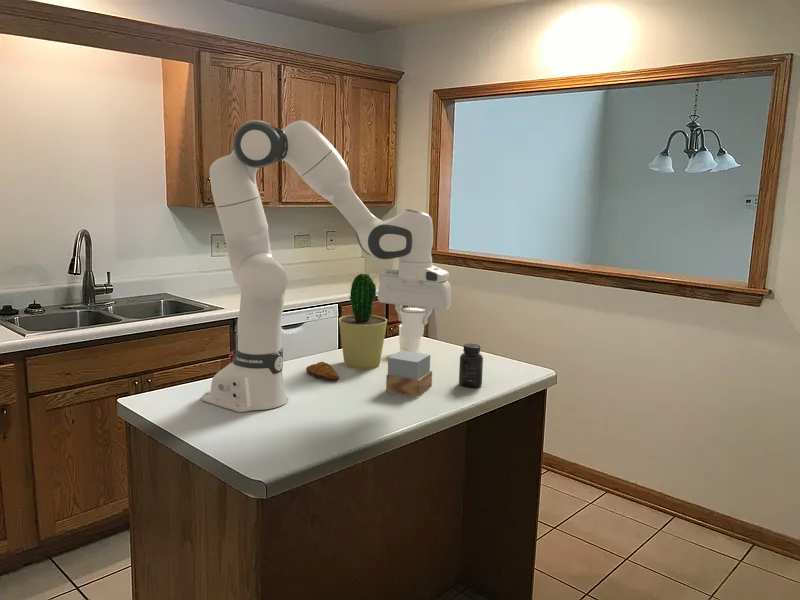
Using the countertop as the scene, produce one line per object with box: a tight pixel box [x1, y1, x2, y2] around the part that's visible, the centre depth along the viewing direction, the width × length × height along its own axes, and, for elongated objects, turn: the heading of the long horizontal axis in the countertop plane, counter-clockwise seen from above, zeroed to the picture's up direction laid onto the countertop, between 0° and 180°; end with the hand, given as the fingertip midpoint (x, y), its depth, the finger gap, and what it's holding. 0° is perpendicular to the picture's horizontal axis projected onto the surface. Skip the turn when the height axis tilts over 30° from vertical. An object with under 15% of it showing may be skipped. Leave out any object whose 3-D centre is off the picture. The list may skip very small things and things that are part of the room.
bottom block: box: [385, 370, 433, 398], centre depth 186 cm, size 10×10×5 cm
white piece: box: [401, 306, 427, 338], centre depth 176 cm, size 7×7×7 cm
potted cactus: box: [338, 272, 388, 370], centre depth 206 cm, size 15×15×30 cm
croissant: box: [305, 361, 340, 382], centre depth 194 cm, size 14×7×5 cm, turn 48°
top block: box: [387, 350, 431, 380], centre depth 185 cm, size 9×9×5 cm
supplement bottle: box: [458, 343, 484, 389], centre depth 191 cm, size 7×7×12 cm
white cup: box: [398, 323, 422, 353], centre depth 222 cm, size 8×8×10 cm
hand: (413, 322), depth 176 cm, fingers closed on white piece, 5 cm apart
